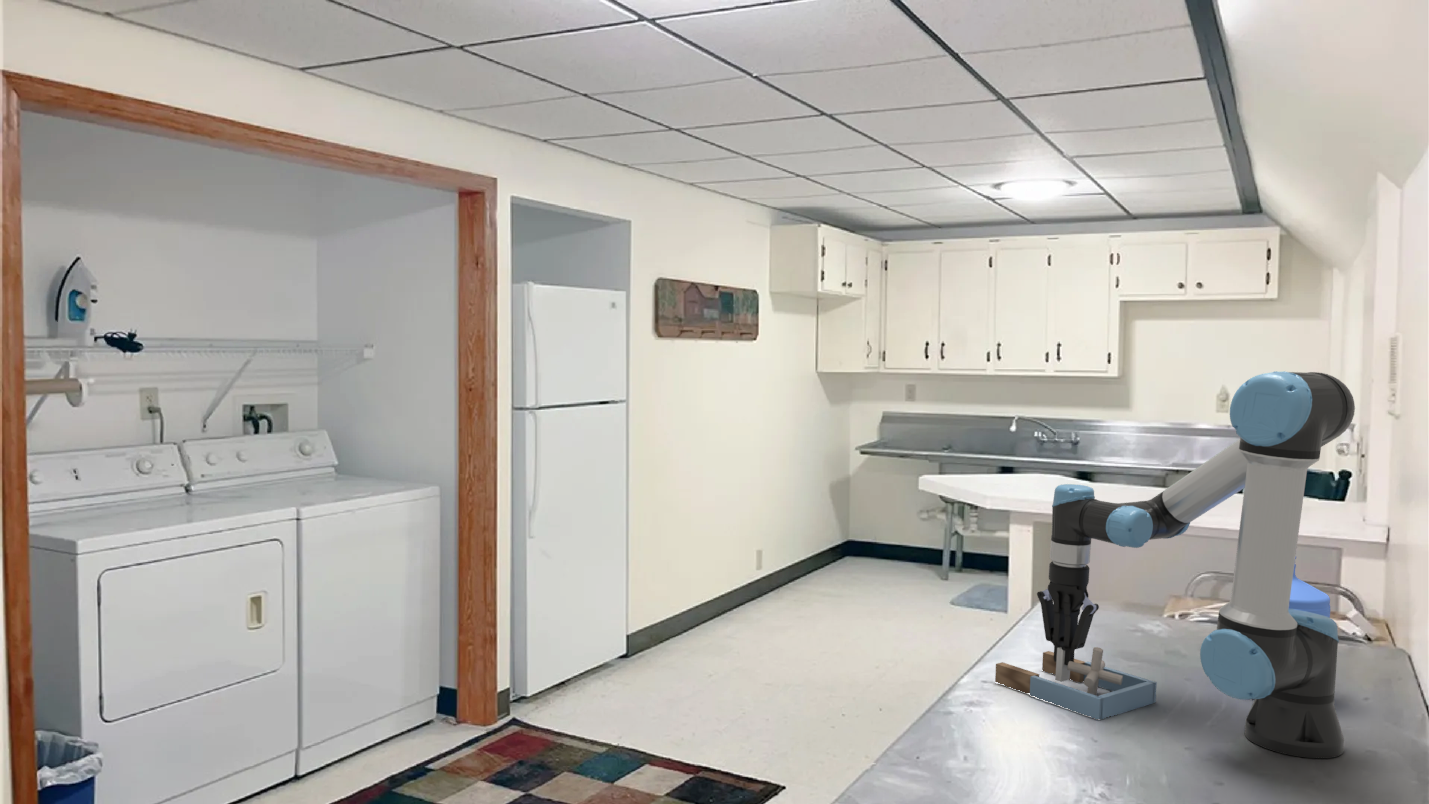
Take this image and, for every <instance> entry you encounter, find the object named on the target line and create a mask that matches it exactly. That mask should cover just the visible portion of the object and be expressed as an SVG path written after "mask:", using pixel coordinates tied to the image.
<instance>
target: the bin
mask: <svg viewBox="0 0 1429 804" xmlns="http://www.w3.org/2000/svg"><path fill="white" fill-rule="evenodd" d="M1084 662H1085V663H1084V665H1086V666H1090V667H1091V662H1090V661H1084ZM1103 670H1104V671H1107V672H1111V673H1114V674H1118V675H1122V676H1123V680H1122V684H1121V685H1118V684H1115V683H1111V682H1108V681H1104V680H1101V679H1099V683H1098V688H1102V687H1103V688H1102V689H1105V690H1108V691H1109V692H1107V693H1104V694H1101V695H1097V696H1096V695H1093V694H1090V693H1087V691H1084V690H1080V689H1078V688H1074V687H1071V686H1068V685H1064V684H1061V683H1060V682H1056V681H1053V680H1049V679H1047V678H1043V677H1041V676H1039V677H1038V676H1035V675H1034V676H1031V677H1030V695H1031V696H1035V697H1037V698H1039V699H1043V700H1045V701H1048V702H1052V703H1054V704H1056V705H1060V706H1062V707H1064V708H1068V709H1070V710H1072V711H1076V712H1078V713H1081V714H1084V715H1087V716H1091V717H1092V718H1095V719H1102V720H1105V719H1107V718H1106V717H1108V718H1110V717H1109V716H1111V717H1114V715H1115V716H1117V714H1118V715H1121V714H1124V713H1127V712H1131V711H1133V710H1136V709H1139V708H1143V707H1146V706H1148V705H1153V704H1156V702H1157V684H1158V683H1157V681H1153V680H1150V679H1148V678H1145V677H1141V676H1137V675H1135V674H1132V673H1128V672H1125V671H1120V670H1117V669H1114V668H1111V667H1108V666H1105V667H1104V669H1103ZM1086 677H1087V675H1084V680H1085V678H1086ZM1110 691H1111V692H1110ZM1030 695H1029V696H1030ZM1064 708H1063V709H1064ZM1072 711H1071V712H1072ZM1078 713H1077V714H1078ZM1081 714H1080V715H1081ZM1084 715H1083V716H1084ZM1092 718H1091V719H1092ZM1104 718H1105V719H1104ZM1095 719H1094V720H1095Z"/></svg>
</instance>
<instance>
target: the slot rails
mask: <svg viewBox="0 0 1429 804" xmlns="http://www.w3.org/2000/svg"><path fill="white" fill-rule="evenodd" d="M1074 662H1076V663H1079V664H1083V665H1084V663H1085V662H1086V661H1084V660H1080V659H1078V658H1077V659H1076V658H1074ZM1041 663H1042V667H1041V671H1042V670H1043V671H1045V672H1044V673H1046V672H1048V673H1047V674H1049V673H1053V674H1055V675H1054V676H1056V662H1055V661H1054V651H1050V650H1048V651H1042V662H1041ZM1043 671H1042V672H1043ZM994 674H995V675H994V676H995V681H994V683H995V682H998V683H1000V684H1004V685H1005V686H1007V687H1011V688H1013V689H1016V690H1020V691H1022V692H1025V693H1030V677H1031V676H1034V675H1035V676H1038V677H1040V673H1037V672H1034V671H1031V670H1028V669H1024V668H1021V667H1019V666H1015V665H1012V664H1009V663H1006V662H998V663H995V673H994ZM1070 679H1071V680H1073V681H1072V682H1074V681H1075V683H1077V682H1081V683H1084V682H1083V681H1084V674H1080V673H1077V672H1073V671H1070ZM1071 680H1070V681H1071ZM1007 687H1006V688H1007ZM1013 689H1012V690H1013ZM1016 690H1015V691H1016ZM1022 692H1021V693H1022ZM1025 693H1024V694H1025Z"/></svg>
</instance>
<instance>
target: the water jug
mask: <svg viewBox="0 0 1429 804" xmlns="http://www.w3.org/2000/svg"><path fill="white" fill-rule="evenodd" d="M1296 559H1297V556H1295V560H1296ZM1296 568H1297V564H1296V563H1295V564H1294V571H1293V579H1292V586H1291V594H1290V602H1289V609H1295V610H1301V611H1306V612H1311V613H1315V614H1319V615H1323V616H1326V617H1329V618H1331V604H1330V603H1331V599H1330V596H1329V595H1328V594H1327V593H1326V592H1324V591H1322V590H1321V589H1318V588H1316V587H1314V585H1311V584H1309V583H1307V582H1306V581H1304V580H1302V579H1299V578H1298V577H1297V576H1296Z"/></svg>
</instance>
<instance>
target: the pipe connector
mask: <svg viewBox="0 0 1429 804" xmlns="http://www.w3.org/2000/svg"><path fill="white" fill-rule="evenodd" d="M1092 648H1093V649H1092V655H1091V667H1090V666H1086V665H1083V664H1079V663H1076V662H1072V661H1069V663H1068V667H1067V670H1070V671H1073V672H1077V673H1080V674H1084V675H1087V677H1086V678H1085V680H1084V682H1083V684H1084V686H1085V687H1087V690H1086V692H1087V693H1090V694H1093V695H1096V696H1098V695H1097V694H1098V688H1099V687H1098V683H1099V679H1101V680H1104V681H1108V682H1111V683H1115V684H1118V685H1121V684H1122V680H1123V676H1122V675H1118V674H1114V673H1111V672H1107V671H1104V670H1103V669H1104V667H1106V663H1105V661H1104V660H1103V656H1104V649H1103V648H1102V647H1098V646H1096V647H1095V646H1094V647H1092Z"/></svg>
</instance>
